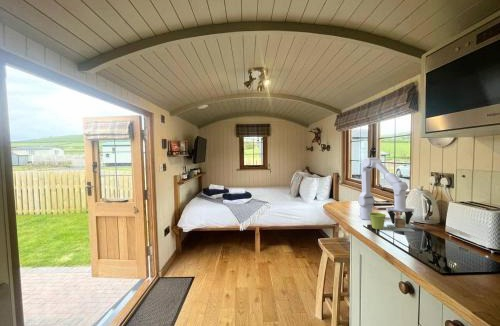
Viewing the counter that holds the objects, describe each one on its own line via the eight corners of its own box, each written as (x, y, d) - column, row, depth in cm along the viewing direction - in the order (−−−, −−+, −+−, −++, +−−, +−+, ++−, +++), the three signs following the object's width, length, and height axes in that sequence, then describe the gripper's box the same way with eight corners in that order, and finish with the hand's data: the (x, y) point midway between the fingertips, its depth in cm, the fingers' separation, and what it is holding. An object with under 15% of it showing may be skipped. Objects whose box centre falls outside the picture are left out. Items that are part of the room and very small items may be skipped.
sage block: (400, 222, 148) (400, 215, 148) (407, 222, 148) (407, 215, 148) (403, 224, 145) (403, 216, 144) (410, 224, 144) (410, 216, 144)
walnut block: (394, 226, 139) (394, 218, 138) (402, 226, 138) (401, 218, 138) (397, 228, 135) (397, 220, 134) (405, 228, 134) (405, 220, 134)
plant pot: (365, 227, 140) (365, 213, 140) (375, 225, 144) (375, 211, 144) (379, 231, 132) (379, 217, 131) (389, 229, 136) (389, 215, 135)
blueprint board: (386, 225, 143) (386, 224, 142) (405, 226, 140) (405, 225, 140) (394, 231, 132) (394, 229, 132) (414, 231, 130) (414, 230, 129)
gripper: (389, 202, 133) (389, 225, 133) (416, 203, 130) (416, 226, 131) (384, 200, 140) (385, 221, 140) (410, 200, 137) (410, 222, 137)
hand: (400, 223), depth 136 cm, fingers open, 7 cm apart
